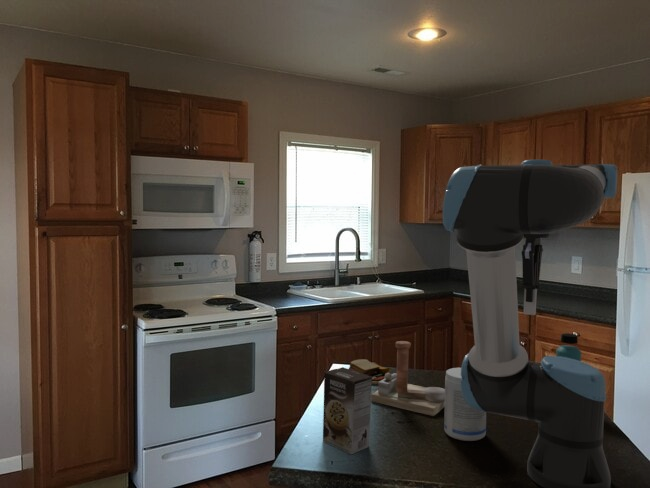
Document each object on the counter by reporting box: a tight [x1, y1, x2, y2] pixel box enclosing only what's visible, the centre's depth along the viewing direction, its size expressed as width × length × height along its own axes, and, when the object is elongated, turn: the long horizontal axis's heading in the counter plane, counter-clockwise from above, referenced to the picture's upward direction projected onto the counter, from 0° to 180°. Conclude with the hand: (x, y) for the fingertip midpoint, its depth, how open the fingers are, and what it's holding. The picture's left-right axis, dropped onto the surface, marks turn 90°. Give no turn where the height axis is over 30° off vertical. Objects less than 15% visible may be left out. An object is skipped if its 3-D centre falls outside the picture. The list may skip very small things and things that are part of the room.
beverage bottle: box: [555, 333, 582, 362], centre depth 147 cm, size 6×7×20 cm
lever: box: [395, 340, 445, 402], centre depth 146 cm, size 14×6×14 cm, turn 81°
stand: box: [371, 372, 445, 417], centre depth 150 cm, size 14×18×7 cm
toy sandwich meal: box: [348, 358, 392, 385], centre depth 169 cm, size 12×14×5 cm
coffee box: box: [322, 367, 373, 455], centre depth 122 cm, size 9×6×16 cm
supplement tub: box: [443, 367, 487, 442], centre depth 129 cm, size 10×10×15 cm
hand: (529, 313), depth 140 cm, fingers closed
